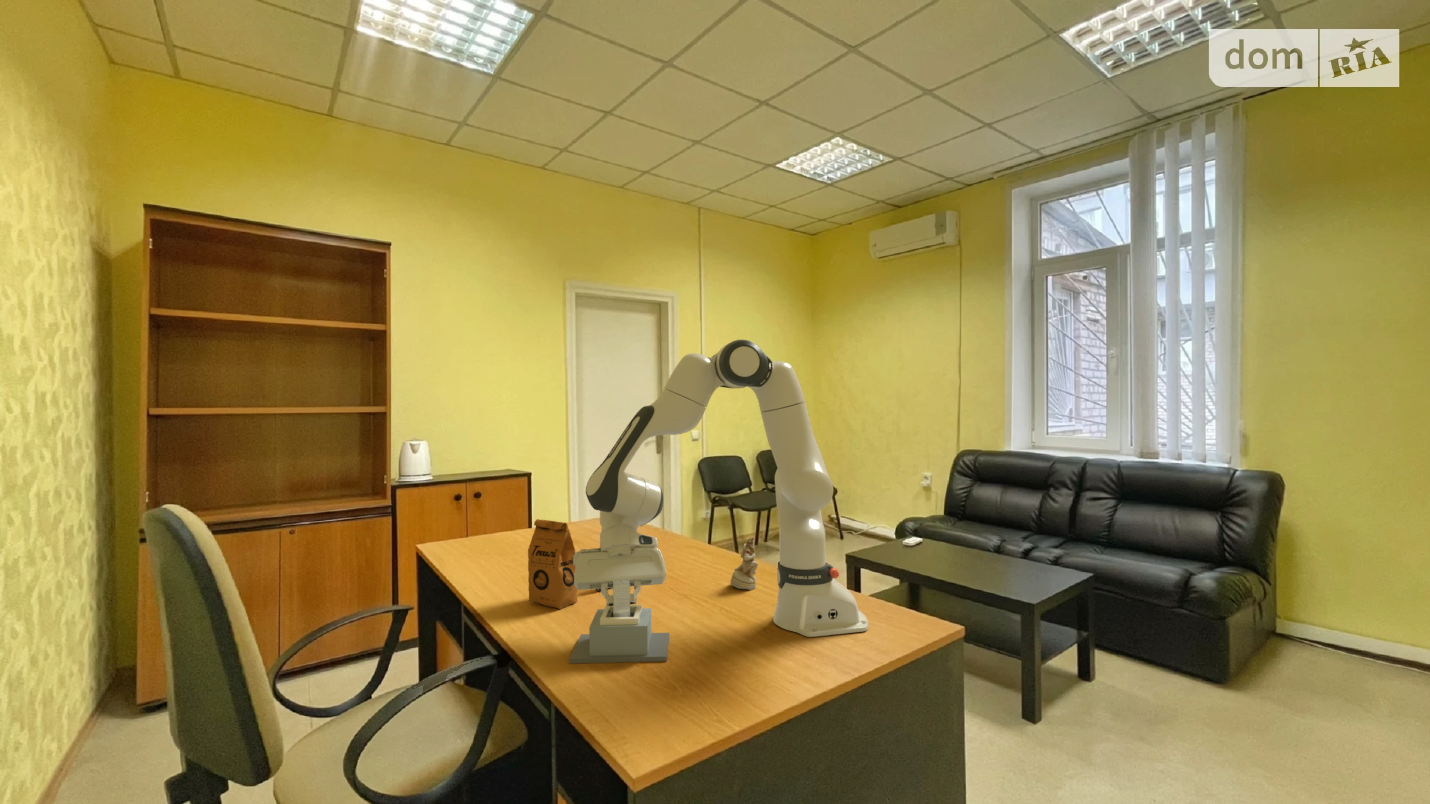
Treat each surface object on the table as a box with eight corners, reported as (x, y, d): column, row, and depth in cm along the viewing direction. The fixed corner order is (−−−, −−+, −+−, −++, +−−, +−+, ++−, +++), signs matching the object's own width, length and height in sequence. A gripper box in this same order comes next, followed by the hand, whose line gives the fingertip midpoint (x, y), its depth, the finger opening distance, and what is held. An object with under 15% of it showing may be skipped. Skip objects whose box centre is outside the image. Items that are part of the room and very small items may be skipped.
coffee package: (556, 613, 144) (555, 526, 144) (523, 604, 151) (522, 521, 151) (584, 601, 153) (583, 519, 153) (551, 593, 159) (551, 515, 159)
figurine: (758, 595, 162) (773, 545, 162) (736, 592, 159) (751, 541, 159) (746, 584, 168) (761, 536, 168) (725, 581, 165) (740, 532, 165)
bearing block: (669, 636, 129) (669, 606, 129) (666, 661, 117) (666, 627, 117) (581, 638, 129) (580, 607, 129) (569, 663, 117) (568, 629, 117)
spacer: (641, 610, 127) (641, 604, 127) (638, 624, 119) (638, 618, 119) (606, 610, 127) (605, 605, 127) (599, 625, 119) (599, 619, 119)
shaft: (629, 628, 125) (629, 578, 125) (630, 634, 122) (629, 583, 122) (613, 629, 124) (612, 579, 124) (613, 636, 121) (613, 584, 121)
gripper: (573, 542, 127) (571, 601, 118) (663, 537, 132) (669, 593, 122) (573, 557, 132) (572, 614, 122) (661, 551, 136) (666, 606, 127)
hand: (621, 604), depth 122 cm, fingers closed on shaft, 3 cm apart
